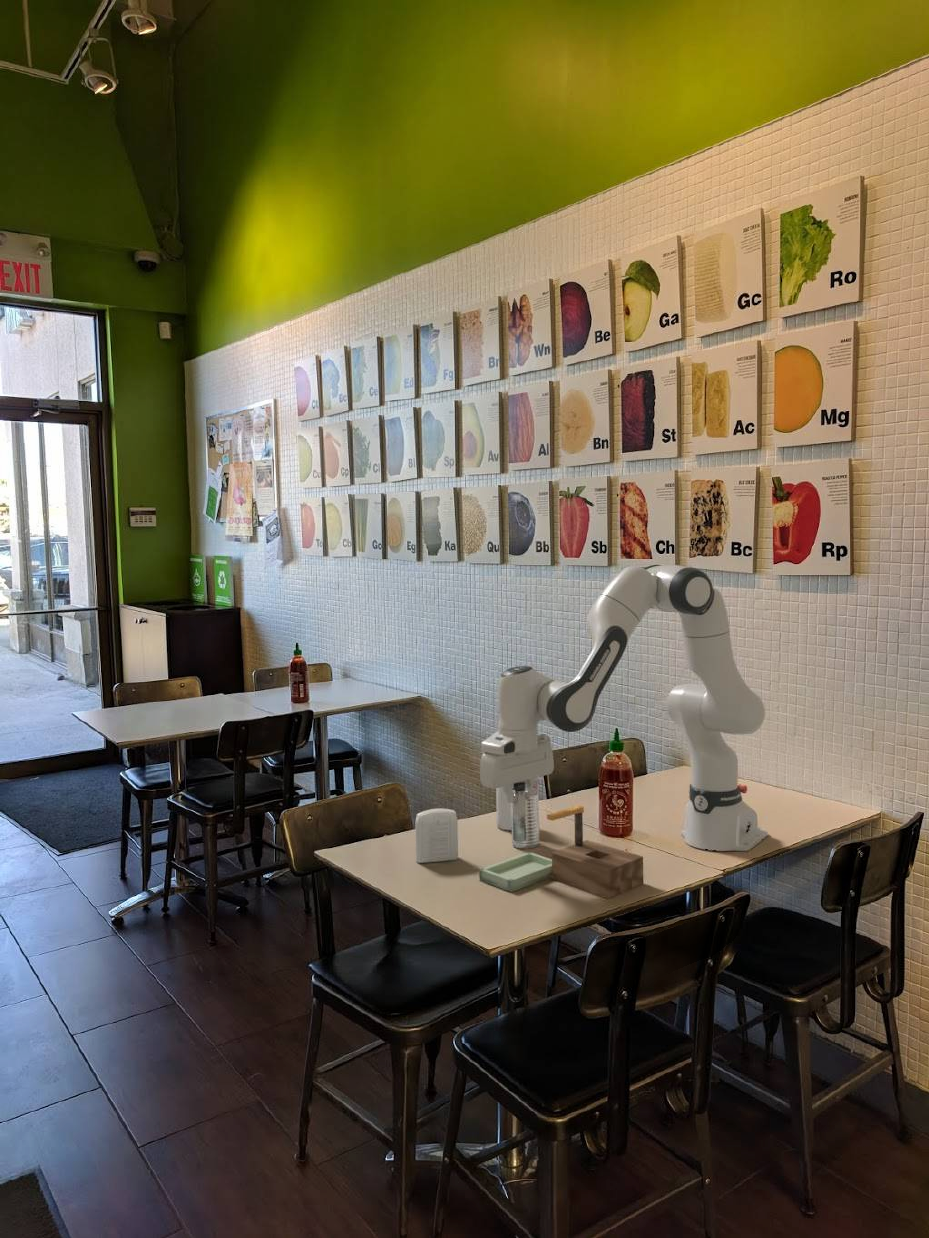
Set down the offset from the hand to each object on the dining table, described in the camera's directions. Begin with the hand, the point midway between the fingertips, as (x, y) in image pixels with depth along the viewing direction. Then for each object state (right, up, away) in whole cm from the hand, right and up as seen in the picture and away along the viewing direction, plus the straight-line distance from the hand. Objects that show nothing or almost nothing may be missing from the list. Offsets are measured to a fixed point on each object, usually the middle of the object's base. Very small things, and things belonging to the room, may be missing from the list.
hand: (518, 800), depth 204 cm
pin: (0, -9, +1) cm, 9 cm away
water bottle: (+3, -16, +23) cm, 28 cm away
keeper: (+11, -3, +1) cm, 11 cm away
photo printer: (-19, -17, +14) cm, 29 cm away
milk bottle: (0, -15, +38) cm, 40 cm away
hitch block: (+17, -17, -2) cm, 25 cm away
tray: (0, -18, +2) cm, 18 cm away
